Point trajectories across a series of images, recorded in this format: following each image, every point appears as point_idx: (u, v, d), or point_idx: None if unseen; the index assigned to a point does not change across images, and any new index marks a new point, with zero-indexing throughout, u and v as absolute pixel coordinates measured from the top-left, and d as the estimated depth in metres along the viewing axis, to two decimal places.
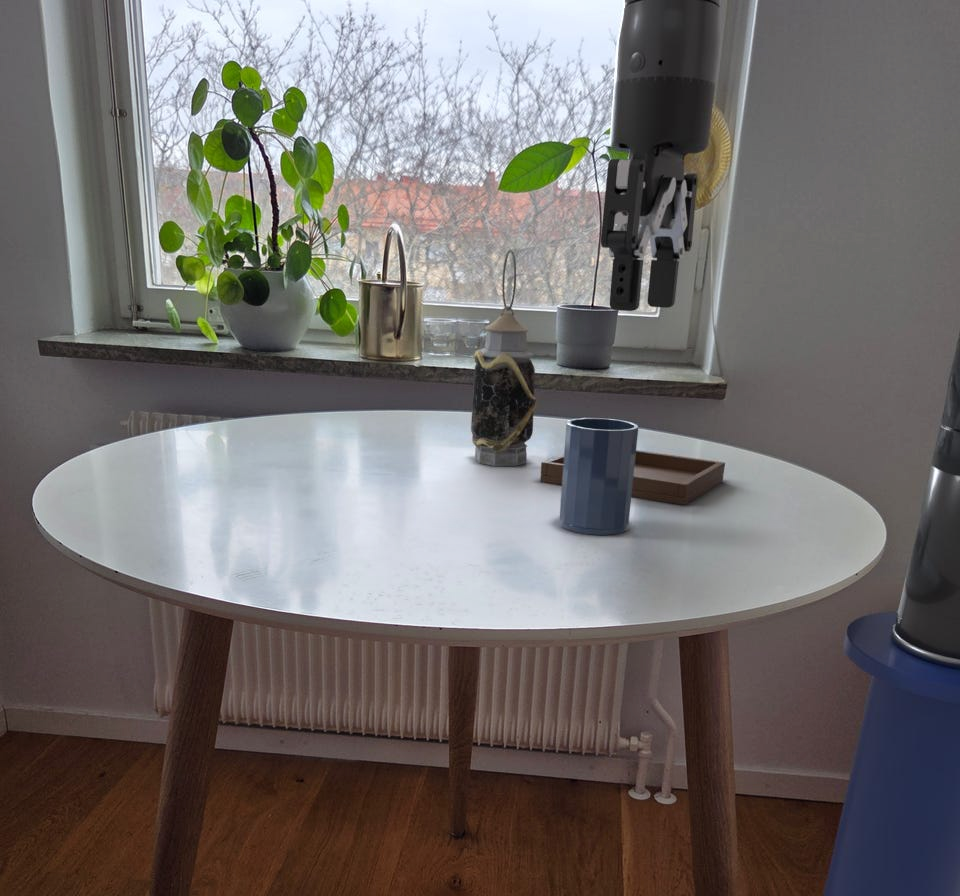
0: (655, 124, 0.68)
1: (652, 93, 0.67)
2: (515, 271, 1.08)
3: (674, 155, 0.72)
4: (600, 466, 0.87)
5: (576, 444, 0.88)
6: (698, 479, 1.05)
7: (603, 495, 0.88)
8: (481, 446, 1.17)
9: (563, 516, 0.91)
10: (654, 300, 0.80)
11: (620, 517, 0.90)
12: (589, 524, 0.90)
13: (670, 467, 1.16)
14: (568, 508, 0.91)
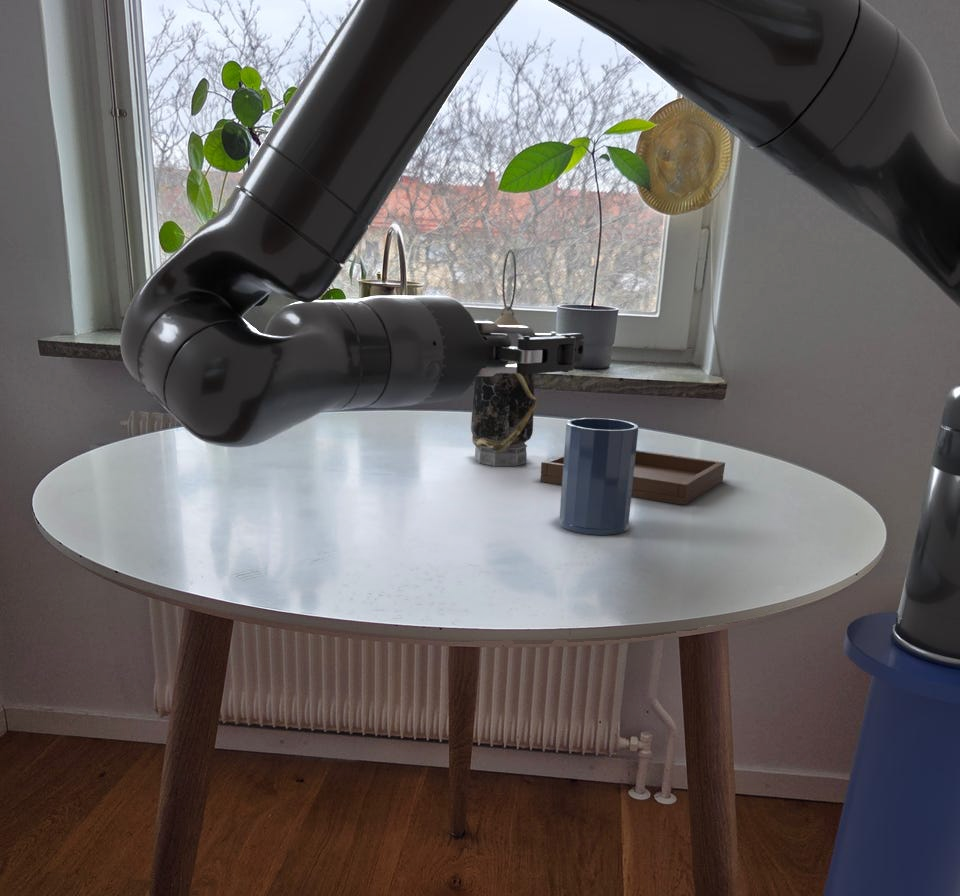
0: (471, 341, 0.67)
1: (453, 348, 0.65)
2: (515, 271, 1.08)
3: None
4: (600, 466, 0.87)
5: (576, 444, 0.88)
6: (698, 479, 1.05)
7: (603, 495, 0.88)
8: (481, 446, 1.17)
9: (563, 516, 0.91)
10: None
11: (620, 517, 0.90)
12: (589, 524, 0.90)
13: (670, 467, 1.16)
14: (568, 508, 0.91)
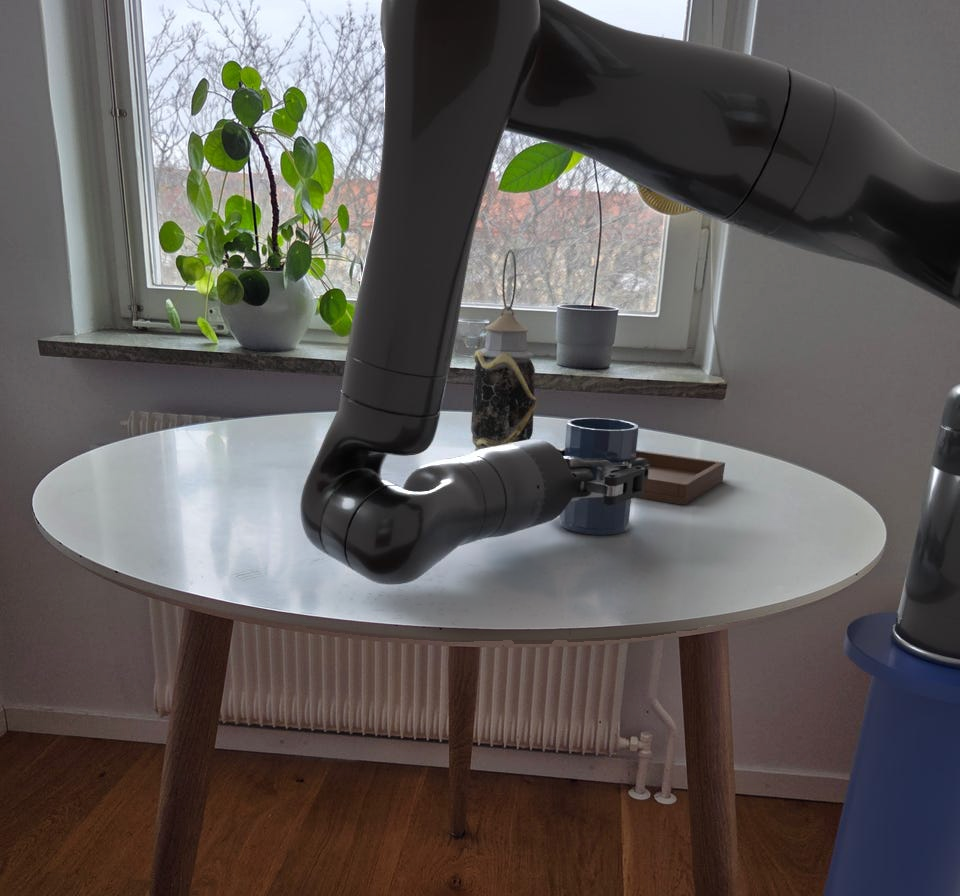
0: (564, 479, 0.80)
1: (551, 488, 0.79)
2: (515, 271, 1.08)
3: None
4: None
5: (576, 444, 0.88)
6: (698, 479, 1.05)
7: None
8: (481, 446, 1.17)
9: (563, 516, 0.91)
10: None
11: (620, 517, 0.90)
12: (589, 524, 0.90)
13: (670, 467, 1.16)
14: (568, 508, 0.91)
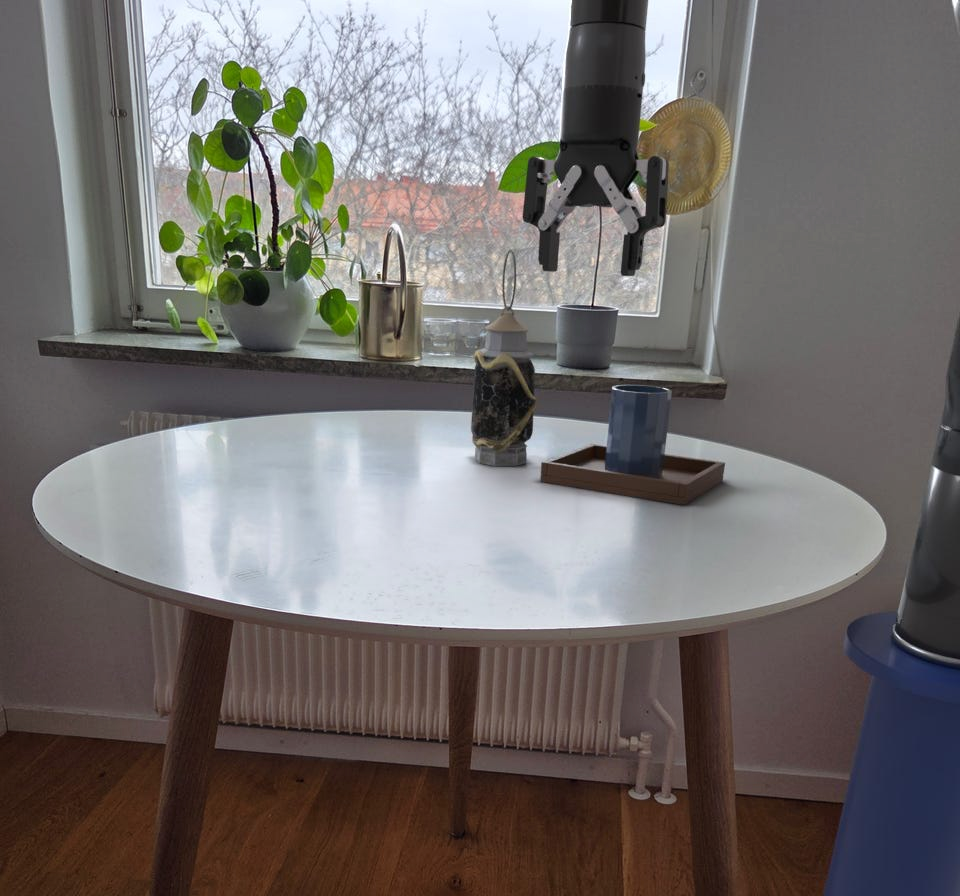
0: None
1: None
2: (515, 271, 1.08)
3: (596, 146, 0.88)
4: (640, 423, 1.06)
5: (620, 405, 1.06)
6: (698, 479, 1.05)
7: (642, 447, 1.07)
8: (481, 446, 1.17)
9: (608, 466, 1.10)
10: None
11: (656, 466, 1.09)
12: (630, 472, 1.08)
13: (670, 467, 1.16)
14: (612, 459, 1.09)
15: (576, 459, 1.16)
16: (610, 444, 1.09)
